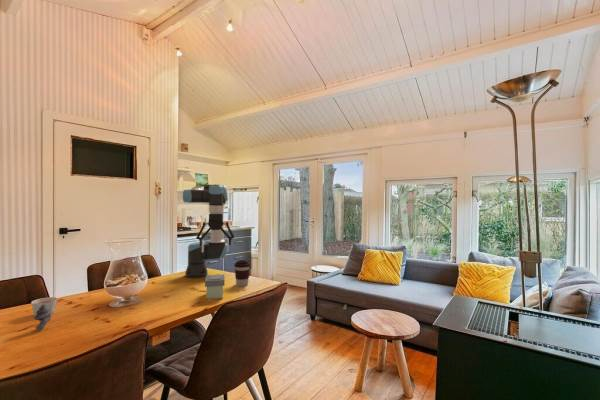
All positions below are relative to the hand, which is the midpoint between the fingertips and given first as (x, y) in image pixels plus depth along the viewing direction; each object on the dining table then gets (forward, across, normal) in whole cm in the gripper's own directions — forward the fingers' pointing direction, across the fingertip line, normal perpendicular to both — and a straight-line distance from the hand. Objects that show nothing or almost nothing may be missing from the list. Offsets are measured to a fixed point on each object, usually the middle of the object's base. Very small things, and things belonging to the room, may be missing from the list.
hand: (215, 251), depth 164 cm
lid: (+18, 0, 0) cm, 19 cm away
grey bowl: (+25, -75, -10) cm, 80 cm away
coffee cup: (+25, +16, +19) cm, 35 cm away
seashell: (+25, -66, -29) cm, 76 cm away
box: (+24, 0, 0) cm, 25 cm away
